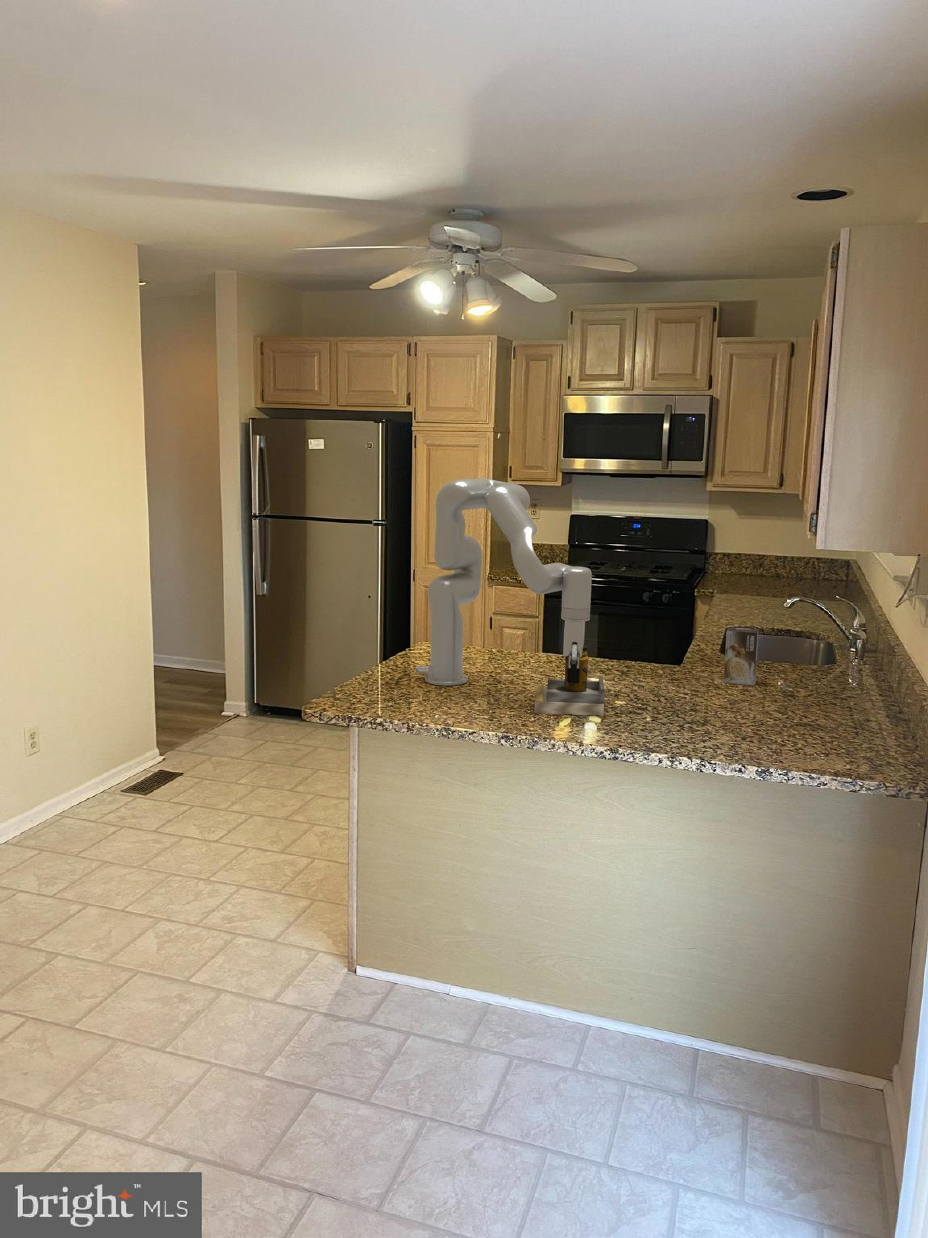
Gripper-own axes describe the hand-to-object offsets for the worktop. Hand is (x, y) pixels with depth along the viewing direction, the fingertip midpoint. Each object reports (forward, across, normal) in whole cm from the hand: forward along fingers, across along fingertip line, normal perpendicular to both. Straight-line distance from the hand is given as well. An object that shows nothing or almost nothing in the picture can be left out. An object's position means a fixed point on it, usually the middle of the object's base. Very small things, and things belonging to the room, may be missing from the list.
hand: (572, 678), depth 249 cm
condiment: (+3, 0, 0) cm, 3 cm away
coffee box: (+8, -34, +50) cm, 61 cm away
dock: (+8, 0, -1) cm, 8 cm away
